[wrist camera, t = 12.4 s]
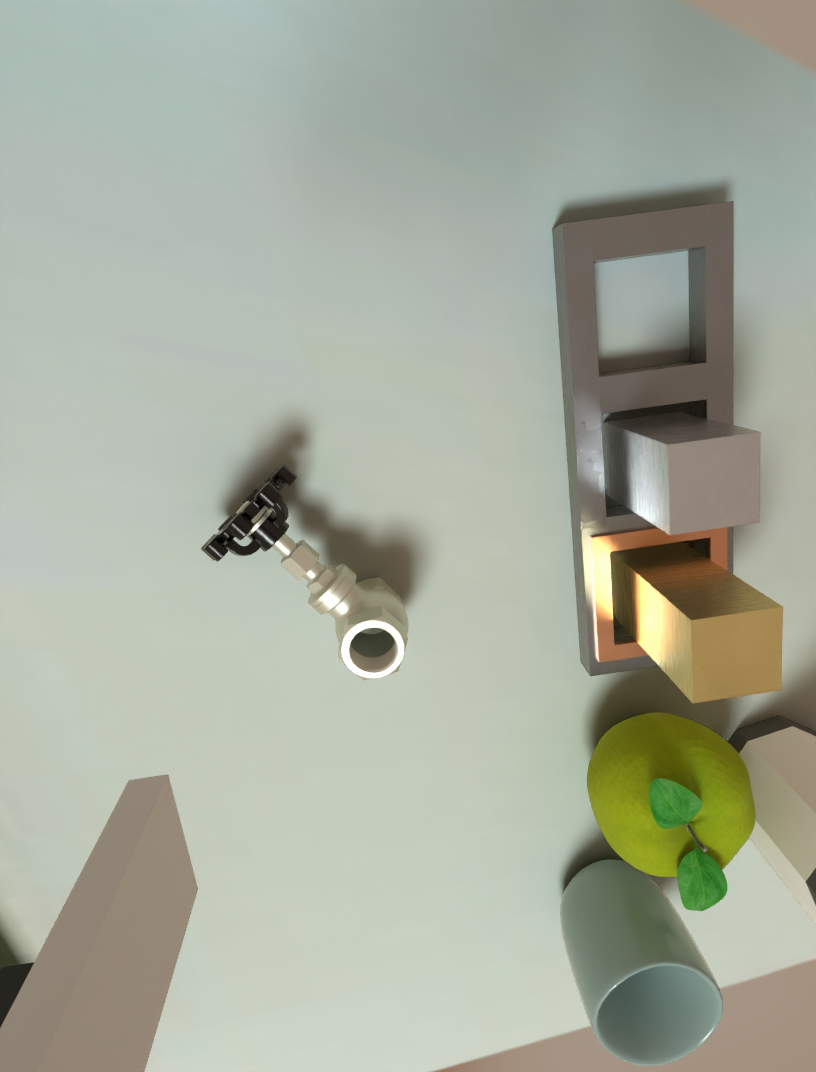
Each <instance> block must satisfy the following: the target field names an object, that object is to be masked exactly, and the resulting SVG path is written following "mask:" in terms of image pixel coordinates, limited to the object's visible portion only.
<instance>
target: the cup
mask: <svg viewBox="0 0 816 1072" xmlns="http://www.w3.org/2000/svg"><path fill="white" fill-rule="evenodd" d="M560 916H561V928H562V934H563V939H564V944H565V948H566V952H567V955H568V959H569V962H570V966H571V969H572V972H573V975H574V979H575V982H576V985H577V988H578V991H579V994H580V997H581V1000H582V1003H583V1006H584V1009H585V1012H586V1014H587V1017H588V1020H589V1022H590V1025H591V1027H592V1030H593V1032H594V1034H595V1036H596V1038H597V1039H598V1040H599V1042H600V1043H601V1044H602V1046H603V1047H604V1048H605V1049H606V1050H607V1051H608V1052H610V1053H611V1054H613V1055H614V1056H616V1057H617V1058H619V1059H620V1060H623V1061H626V1062H628V1063H631V1064H635V1065H640V1066H656V1065H662V1064H667V1063H669V1062H673V1061H676V1060H678V1059H680V1058H682V1057H684V1056H686V1055H688V1054H689V1053H691V1052H692V1051H694V1050H695V1049H697V1048H698V1047H699V1046H701V1045H702V1044H703V1043H704V1042H705V1041H706V1040H707V1039H708V1038H709V1037H710V1036H711V1034H712V1033H713V1032H714V1031H715V1029H716V1027H717V1026H718V1024H719V1022H720V1019H721V1016H722V1012H723V999H722V996H721V993H720V989H719V986H718V984H717V982H716V980H715V978H714V976H713V974H712V972H711V970H710V968H709V966H708V965H707V963H706V961H705V959H704V957H703V955H702V954H701V952H700V950H699V948H698V946H697V945H696V943H695V941H694V939H693V937H692V936H691V934H690V932H689V931H688V929H687V927H686V925H685V924H684V922H683V920H682V919H681V917H680V916H679V914H678V912H677V911H676V909H675V908H674V906H673V905H672V903H671V902H670V900H669V899H668V897H667V896H666V895H665V893H664V892H663V891H662V889H661V888H660V887H659V886H658V885H657V884H656V883H655V882H654V881H653V880H652V879H651V877H650V876H648V875H647V874H646V873H645V872H643V871H641V870H638V869H636V868H635V867H633V866H632V865H630V864H629V863H627V862H625V861H621V860H614V859H605V860H600V861H597V862H594V863H591V864H590V865H588V866H586V867H584V868H583V869H582V870H580V871H579V872H578V873H577V874H576V875H575V876H574V877H573V878H572V879H571V881H570V882H569V883H568V885H567V887H566V889H565V891H564V893H563V896H562V901H561V907H560Z"/></svg>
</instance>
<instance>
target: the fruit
mask: <svg viewBox="0 0 816 1072" xmlns="http://www.w3.org/2000/svg"><path fill="white" fill-rule="evenodd" d="M587 787H588V793H589V798H590V802H591V806H592V809H593V812H594V815H595V818H596V820H597V823H598V825H599V827H600V829H601V831H602V833H603V835H604V837H605V838H606V840H607V842H608V843H609V844H610V846H611V847H612V848H613V849H614V851H615V852H616V853H617V854H618V855H619V856H620V857H621V858H622V859H624V860H625V861H626V862H627V863H629V864H630V865H632V866H633V867H635V868H636V869H638V870H641V871H643V872H645V873H647V874H650V875H654V876H658V877H677V878H678V885H679V891H680V895H681V899H682V903H683V905H684V907H685V908H686V909H688V910H696V911H703V910H705V909H707V908H709V907H711V906H713V905H715V904H716V903H718V902H719V901H720V900H721V899H723V898H724V896H725V894H726V892H727V881H726V878H725V876H724V873H723V871H722V869H723V868H724V867H725V866H726V865H727V864H728V863H729V862H730V861H731V860H732V859H733V857H734V856H735V855H736V854H737V852H738V851H739V850H740V848H741V847H742V846H743V845H744V844H745V842H746V841H747V840H748V838H749V837H750V835H751V833H752V831H753V829H754V825H755V814H756V813H755V806H754V799H753V795H752V790H751V784H750V778H749V774H748V770H747V768H746V765H745V763H744V761H743V760H742V758H741V756H740V755H739V753H738V752H737V751H736V750H735V749H734V748H733V747H732V746H731V745H730V744H729V743H728V742H727V741H726V740H725V739H724V738H722V737H721V736H720V735H718V734H717V733H715V732H714V731H712V730H711V729H709V728H707V727H705V726H703V725H701V724H699V723H697V722H694V721H692V720H689V719H687V718H684V717H681V716H677V715H673V714H669V713H663V712H652V713H646V714H641V715H638V716H635V717H631V718H629V719H626V720H624V721H621V722H619V723H618V724H616V725H614V726H613V727H611V728H610V729H609V730H608V731H607V732H606V733H605V734H604V735H603V736H602V738H601V739H600V741H599V742H598V744H597V746H596V748H595V750H594V752H593V755H592V757H591V760H590V763H589V767H588V773H587Z"/></svg>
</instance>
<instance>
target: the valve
mask: <svg viewBox="0 0 816 1072" xmlns="http://www.w3.org/2000/svg"><path fill="white" fill-rule="evenodd" d="M296 478H297V475H296V474H294V473H293V472H292V471H291V470H290V469H289V468H288V467H287V466H286V465H285V464H283V465H282V466H281V467H280V468H277V469H276V470H274V471H273V472H272V473H271V474H270V476H269V477H268V478H267V479H266V480H265V484H264V485H263V486H262V487H261V488H260V489H259V490H257V489H255V490H254V491H253V492H252V493H251V494H250V495H249V496H248V497H247V498H246V499H245V500H244V502H243V503H244V504H243V505H242V506H241V507H240V509H239V510H238V511H237V512H236V513H235V514H234V515H233V516H229V517H228V518H227V519H226V520H225V521H224V522H223V523H222V524H221V526H220V527H219V528H218V530H219V532H218V533H217V534H214V535H213V536H212V537H211V538H210V539H209V540H208V541H207V542H206V543H205V544H204V545H203V546H202V548H201V550H202V551H204V552H205V553H206V554H207V555H208V556H209V557H210V558H212V559H213V560H216V561H219V560H220V559H221V558H222V557H223V556H224V555H225V554H226V553H227V552H228V551H230V552H231V553H233V554H235V555H238V556H247V555H250V554H253V553H254V552H256V551H257V550H258V549H259V548H261V549H262V550H263V551H267V550H269V549H270V548H271V547H273V548H274V549H276V550H277V551H278V552H279V553H280V554H281V555H282V556H283V559H282V560H281V566H282V567H284V568H285V569H286V570H287V571H288V572H289V573H290V574H291V575H292V576H294V577H295V578H296V579H297V580H299V579H300V578H301V577H304V578H305V579H307V580H308V584H307V589H308V590H309V591H310V592H311V595H310V597H309V599H308V603H309V604H310V605H311V606H312V607H313V608H314V609H315V610H317V611H318V612H319V613H320V614H325V613H327V612H328V613H329V614H330V615H331V616H332V617H333V618H334V619H335V629H336V635H337V638H338V641H339V643H340V644H339V653H338V658H339V659H340V660H341V661H342V662H343V663H344V664H345V665H346V666H347V667H348V668H349V669H350V670H352V671H353V672H354V673H355V674H356V675H358V676H359V677H360V678H362V679H363V680H367V679H373V678H378V677H382V676H385V675H389V674H391V673H394V672H397V671H398V670H399V667H400V664H401V661H402V658H403V655H404V651H405V647H406V644H407V640H408V639H407V633H408V617H407V613H406V611H405V608H404V606H403V605H402V600H401V596H400V595H399V594H398V593H397V592H396V591H394V590H393V589H392V588H391V587H390V586H389V585H388V584H387V583H386V582H385V581H384V580H383V579H382V578H380V577H374V578H370V579H367V580H363V581H359V582H355V581H356V578H357V576H356V574H355V573H354V572H353V571H351V570H350V569H349V568H348V567H347V566H346V565H345V564H340V565H339V566H337V567H335V568H333V567H332V566H331V565H330V564H326V565H324V566H322V565H321V564H320V563H319V562H318V560H319V554H318V553H317V552H316V551H315V550H314V549H313V548H312V547H311V546H309V545H308V544H307V543H306V542H305V541H304V540H301V541H299V542H298V543H295V542H294V541H293V540H291V539H290V538H289V537H288V536H287V535H286V534H285V532H286V531H287V529H288V528H289V525H288V524H287V523H286V520H287V518H288V508H287V506H286V504H285V502H284V501H283V500H282V499H281V497H282V496H283V494H282V493H281V492H280V491H279V490H281V489H282V488H283V487H284V486H285V485H288V486H290V485H291V484H292V483H293V482H294V480H295V479H296ZM267 508H268V509H267ZM271 508H273V509H274V510H275V512H276V513H275V512H274V511H273V510H272V509H271ZM245 536H247V537H249V538H250V539H251V540H252V541H251V542H250V543H249V545H247V546H240V545H239V544H238V543H237V542H236V541H234V540H233V538H234V537H236V538H238V539H239V540H242V539H243V538H244V537H245Z"/></svg>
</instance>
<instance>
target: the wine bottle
mask: <svg viewBox="0 0 816 1072" xmlns="http://www.w3.org/2000/svg"><path fill="white" fill-rule="evenodd" d="M728 743H729V744H730V745H731V746H732V747H733V748H734V749H735V750H736V751H737V752H738V753H739V755H740V756H741V758H742V760H743V761H744V763H745V765H746V768H747V770H748V774H749V778H750V784H751V790H752V795H753V799H754V806H755V813H756V814H755V825H754V829H753V831H752V833H751V835H750V837H749V839H750V841H751V842H752V843H753V845H754V846H755V847H756V848H757V850H758V851H759V852H760V854H761V855H762V856H763V858H764V859H765V860H766V861H767V863H768V864H769V865H770V867H771V868H772V869H773V871H774V872H775V873H776V874H777V876H778V877H779V878H780V880H781V881H782V882H783V884H784V885H785V886H786V887H787V889H788V890H789V891H790V893H791V894H792V895H793V897H794V898H795V899H796V900H797V902H798V903H799V904H800V906H801V907H802V908H803V910H804V911H805V912H806V913H807V915H808V916H809V917H810V919H811V920H812V921H813V923H814V924H815V925H816V732H815V731H813V730H810V729H808V728H806V727H804V726H801V725H799V724H797V723H795V722H792V721H790V720H788V719H786V718H783V717H781V716H776V717H773V718H770V719H767V720H764V721H761V722H758V723H755V724H752V725H749V726H746V727H743V728H741V729H738V730H736V731H735V733H734V734H733V736H732V737H731V739H730V740H729V742H728Z"/></svg>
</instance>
